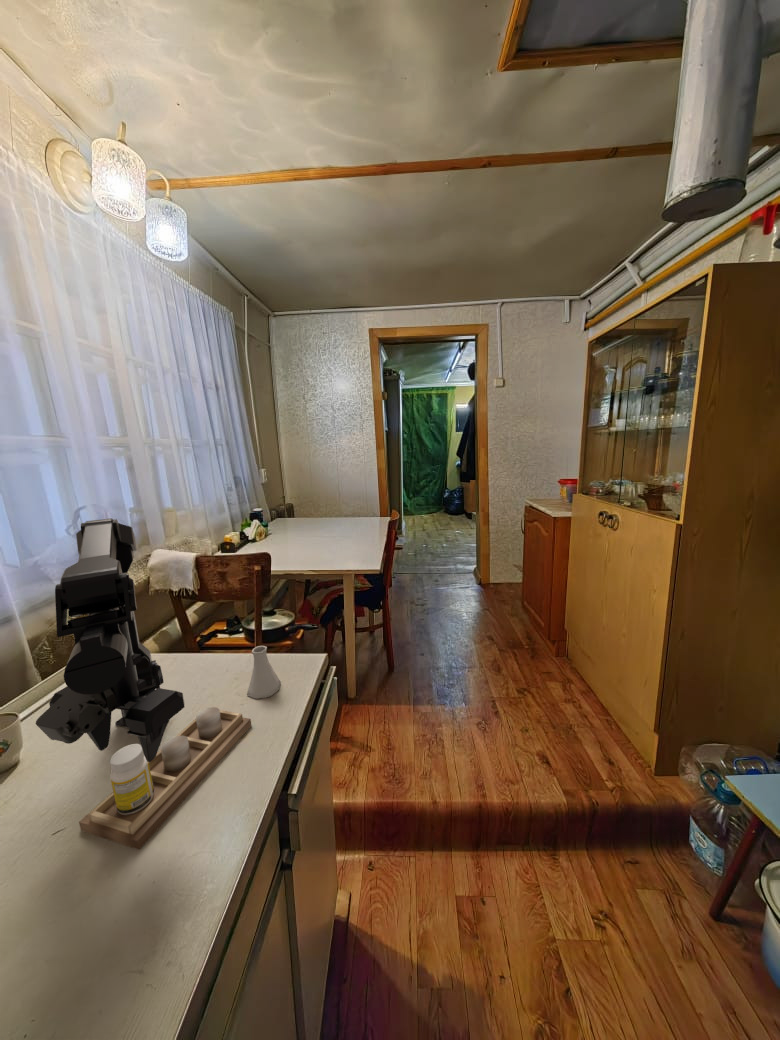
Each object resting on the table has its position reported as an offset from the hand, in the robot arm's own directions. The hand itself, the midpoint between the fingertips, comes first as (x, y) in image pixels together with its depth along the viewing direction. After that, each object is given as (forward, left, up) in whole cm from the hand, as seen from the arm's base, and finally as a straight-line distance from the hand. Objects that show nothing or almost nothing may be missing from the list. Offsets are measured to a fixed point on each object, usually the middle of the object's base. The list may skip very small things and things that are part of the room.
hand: (127, 754), depth 56 cm
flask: (+1, +31, -10) cm, 32 cm away
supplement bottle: (0, 0, -9) cm, 9 cm away
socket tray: (0, +8, -10) cm, 13 cm away
